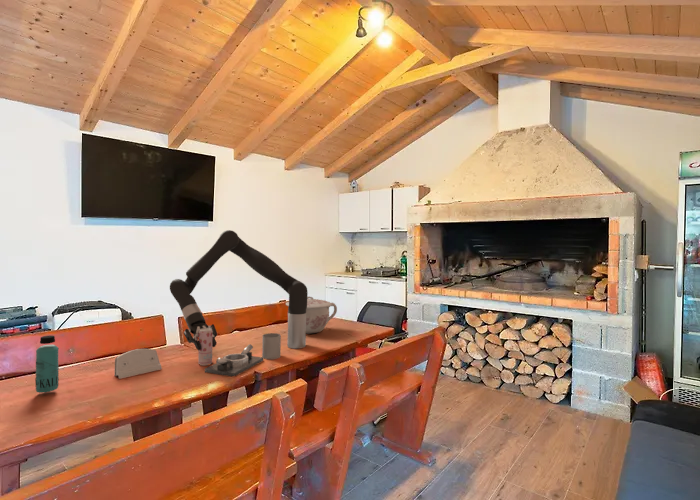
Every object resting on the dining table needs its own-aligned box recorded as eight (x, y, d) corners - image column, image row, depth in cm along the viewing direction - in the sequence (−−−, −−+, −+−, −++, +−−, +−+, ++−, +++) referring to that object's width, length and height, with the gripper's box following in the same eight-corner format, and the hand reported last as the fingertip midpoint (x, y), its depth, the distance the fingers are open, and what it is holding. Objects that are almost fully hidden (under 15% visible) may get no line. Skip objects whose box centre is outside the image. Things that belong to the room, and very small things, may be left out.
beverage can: (204, 366, 168) (204, 331, 168) (195, 364, 171) (195, 329, 171) (215, 363, 173) (215, 329, 172) (206, 360, 176) (206, 327, 175)
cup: (283, 355, 186) (284, 334, 186) (273, 360, 179) (273, 338, 178) (269, 353, 190) (269, 332, 189) (258, 357, 182) (258, 336, 182)
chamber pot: (276, 334, 226) (277, 298, 225) (296, 324, 252) (297, 292, 252) (322, 339, 218) (323, 301, 217) (338, 328, 244) (339, 295, 243)
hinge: (118, 379, 152) (115, 352, 153) (114, 380, 155) (111, 354, 156) (162, 368, 164) (159, 344, 166) (158, 370, 167) (154, 346, 169)
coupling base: (237, 356, 183) (237, 342, 183) (264, 360, 178) (264, 345, 178) (203, 372, 161) (203, 356, 160) (232, 377, 156) (233, 360, 156)
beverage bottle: (43, 389, 140) (43, 333, 139) (63, 389, 140) (63, 333, 140) (30, 397, 133) (30, 338, 132) (51, 397, 134) (51, 338, 133)
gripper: (181, 313, 170) (195, 346, 163) (211, 309, 182) (225, 339, 175) (174, 324, 174) (188, 356, 167) (204, 319, 185) (218, 349, 178)
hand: (207, 347), depth 171 cm, fingers open, 6 cm apart
